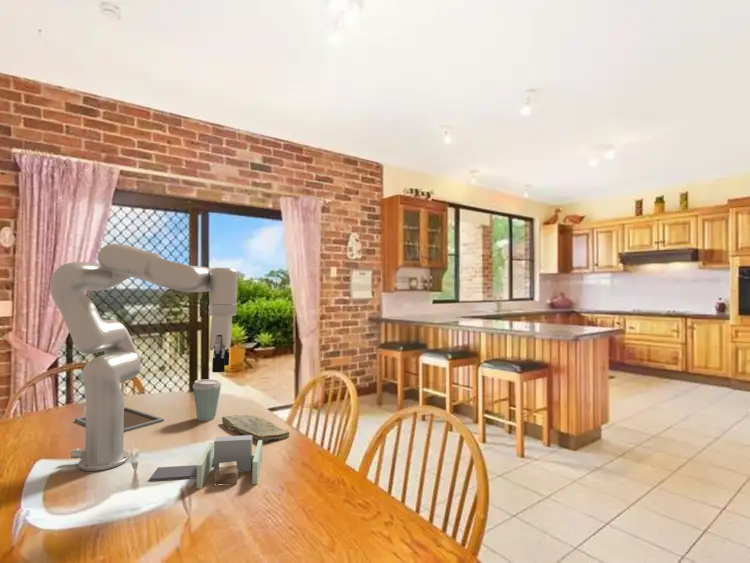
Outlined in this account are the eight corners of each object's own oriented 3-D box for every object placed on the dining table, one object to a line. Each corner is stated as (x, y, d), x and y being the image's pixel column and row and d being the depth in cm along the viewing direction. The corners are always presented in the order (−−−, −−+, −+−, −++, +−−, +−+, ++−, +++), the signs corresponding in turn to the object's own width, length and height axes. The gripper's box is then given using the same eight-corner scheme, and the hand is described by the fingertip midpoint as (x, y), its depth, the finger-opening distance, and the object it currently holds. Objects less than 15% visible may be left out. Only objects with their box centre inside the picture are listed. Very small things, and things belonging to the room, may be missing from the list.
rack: (196, 488, 110) (196, 465, 110) (209, 463, 125) (209, 442, 125) (257, 484, 112) (257, 461, 112) (262, 459, 128) (262, 440, 128)
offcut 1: (219, 474, 112) (219, 467, 112) (219, 470, 114) (219, 463, 114) (236, 472, 113) (236, 464, 113) (236, 468, 116) (236, 461, 116)
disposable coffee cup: (211, 412, 173) (211, 376, 174) (226, 417, 167) (227, 380, 167) (186, 419, 165) (187, 380, 165) (202, 425, 159) (202, 384, 159)
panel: (149, 480, 114) (149, 478, 114) (157, 469, 121) (158, 467, 121) (200, 477, 116) (200, 475, 116) (206, 466, 123) (206, 464, 123)
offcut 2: (214, 486, 112) (214, 475, 112) (217, 480, 115) (217, 469, 115) (236, 484, 112) (236, 473, 112) (238, 479, 116) (238, 468, 116)
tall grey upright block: (213, 473, 119) (214, 441, 119) (216, 468, 122) (216, 436, 122) (250, 471, 120) (251, 439, 121) (251, 465, 124) (252, 435, 124)
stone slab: (247, 410, 169) (291, 425, 148) (247, 420, 168) (291, 437, 148) (217, 416, 160) (260, 433, 139) (217, 428, 159) (260, 446, 139)
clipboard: (111, 433, 146) (71, 417, 162) (111, 437, 146) (71, 421, 162) (164, 418, 162) (123, 405, 178) (164, 422, 162) (123, 409, 178)
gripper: (214, 308, 131) (212, 363, 131) (203, 312, 114) (201, 375, 114) (239, 308, 133) (237, 362, 133) (232, 312, 116) (230, 374, 116)
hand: (220, 368), depth 123 cm, fingers open, 9 cm apart
